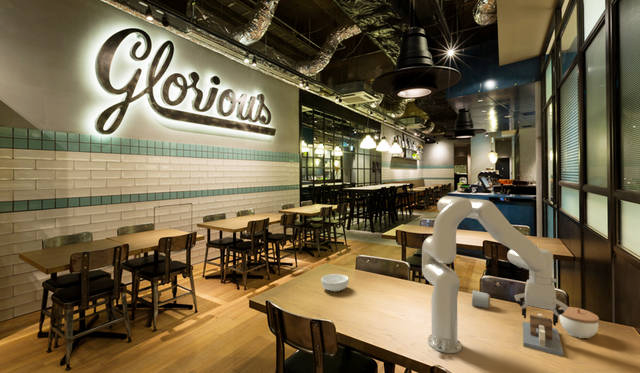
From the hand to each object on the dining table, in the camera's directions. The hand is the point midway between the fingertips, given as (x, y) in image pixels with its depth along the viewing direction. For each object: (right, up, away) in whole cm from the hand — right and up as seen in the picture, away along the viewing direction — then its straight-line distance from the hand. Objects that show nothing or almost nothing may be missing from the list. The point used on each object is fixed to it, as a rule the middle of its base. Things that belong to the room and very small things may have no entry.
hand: (539, 320), depth 116 cm
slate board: (+1, -8, 0) cm, 8 cm away
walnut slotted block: (+1, -6, 0) cm, 6 cm away
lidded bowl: (+19, -8, +3) cm, 21 cm away
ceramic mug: (-6, -8, +32) cm, 34 cm away
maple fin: (+1, -6, 0) cm, 6 cm away
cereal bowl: (-81, -8, +57) cm, 100 cm away
